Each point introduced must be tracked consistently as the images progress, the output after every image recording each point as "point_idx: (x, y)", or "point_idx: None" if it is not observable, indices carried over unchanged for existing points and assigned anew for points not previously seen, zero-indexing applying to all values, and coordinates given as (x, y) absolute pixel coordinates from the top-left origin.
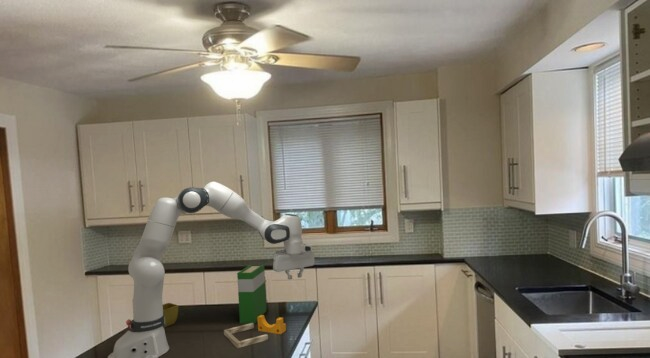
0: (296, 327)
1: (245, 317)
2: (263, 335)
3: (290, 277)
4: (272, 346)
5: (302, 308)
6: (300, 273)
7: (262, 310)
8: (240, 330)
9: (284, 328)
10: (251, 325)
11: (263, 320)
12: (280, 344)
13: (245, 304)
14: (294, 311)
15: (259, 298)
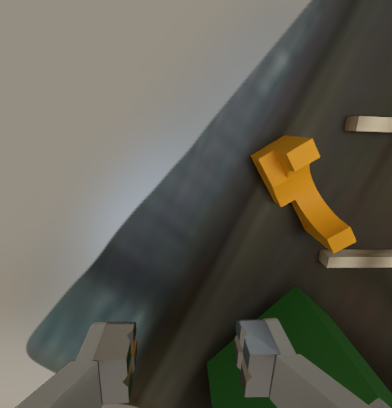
0: (203, 156)
1: (326, 317)
2: (372, 125)
3: (269, 333)
4: (372, 43)
5: (89, 315)
6: (96, 369)
7: None
8: (368, 251)
9: (263, 151)
10: (334, 255)
11: (328, 222)
12: (341, 38)
13: (357, 357)
14: (129, 305)
15: None
